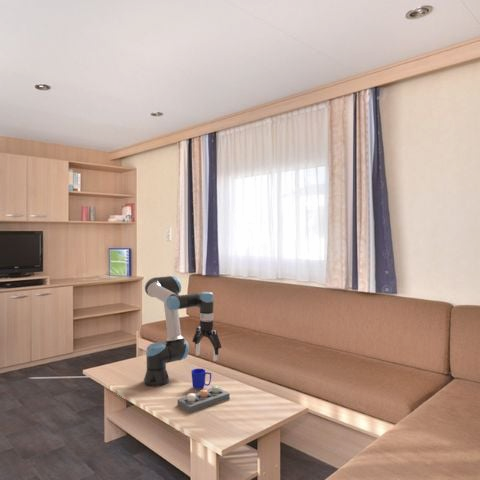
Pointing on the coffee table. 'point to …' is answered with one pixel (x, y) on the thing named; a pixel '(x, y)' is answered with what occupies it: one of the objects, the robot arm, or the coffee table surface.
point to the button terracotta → (203, 393)
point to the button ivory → (191, 397)
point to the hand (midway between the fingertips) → (206, 357)
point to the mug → (199, 378)
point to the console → (203, 401)
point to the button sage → (215, 389)
